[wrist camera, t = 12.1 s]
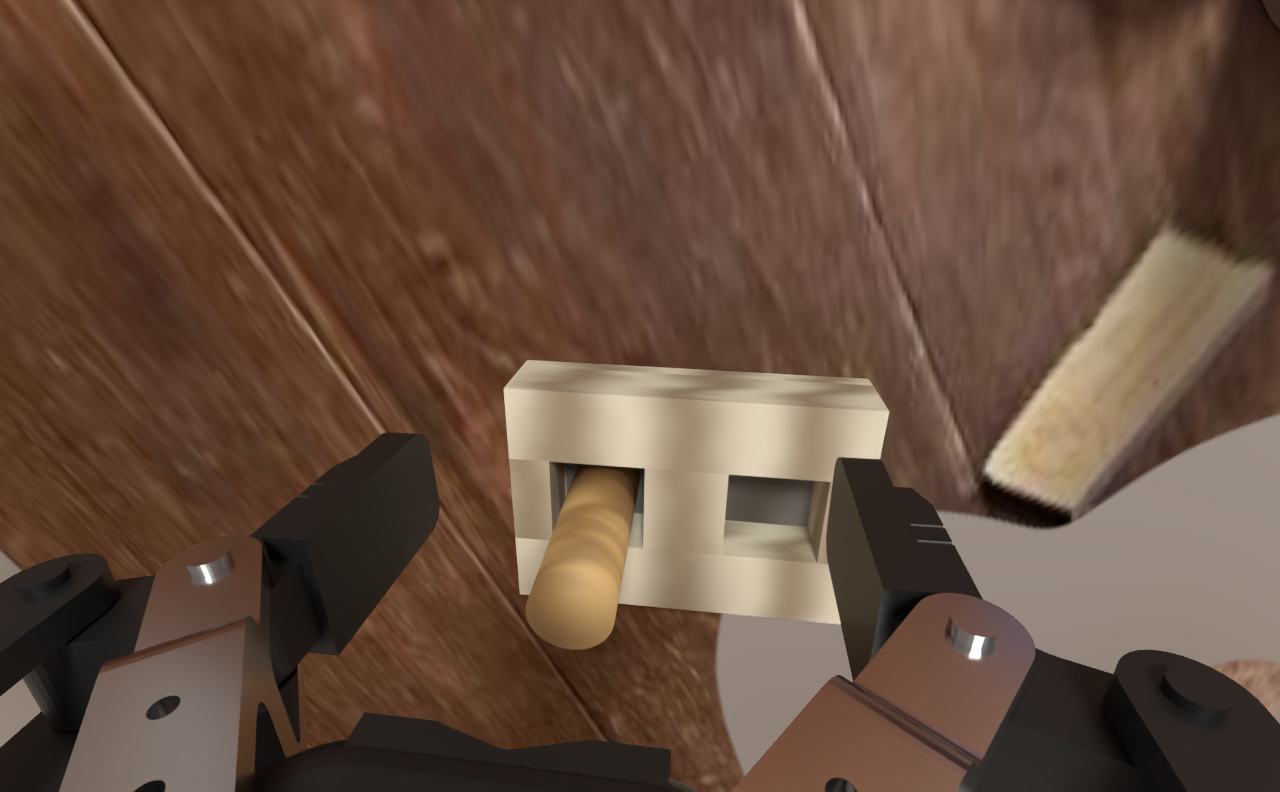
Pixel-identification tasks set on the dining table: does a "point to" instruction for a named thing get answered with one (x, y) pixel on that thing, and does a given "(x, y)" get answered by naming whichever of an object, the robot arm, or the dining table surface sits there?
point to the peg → (585, 559)
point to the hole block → (695, 476)
